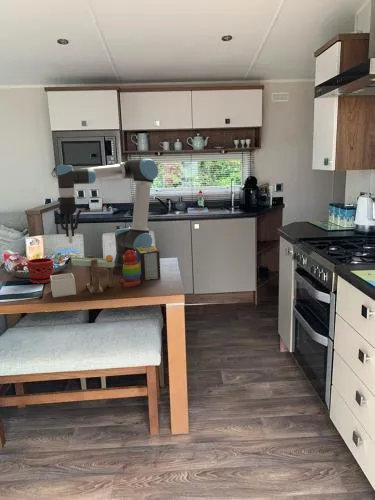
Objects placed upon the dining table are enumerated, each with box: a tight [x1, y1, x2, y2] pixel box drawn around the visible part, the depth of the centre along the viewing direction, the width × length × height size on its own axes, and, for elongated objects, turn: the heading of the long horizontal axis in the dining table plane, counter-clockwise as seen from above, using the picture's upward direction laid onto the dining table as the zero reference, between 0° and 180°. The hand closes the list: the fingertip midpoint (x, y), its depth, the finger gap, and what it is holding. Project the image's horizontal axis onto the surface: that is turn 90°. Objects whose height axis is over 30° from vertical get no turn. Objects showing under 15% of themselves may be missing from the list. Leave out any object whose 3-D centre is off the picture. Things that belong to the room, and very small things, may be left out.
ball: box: [105, 254, 114, 262], centre depth 192 cm, size 4×4×4 cm
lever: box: [67, 253, 115, 269], centre depth 193 cm, size 21×18×3 cm
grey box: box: [50, 272, 77, 298], centre depth 185 cm, size 11×11×8 cm
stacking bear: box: [119, 250, 142, 288], centre depth 197 cm, size 11×10×18 cm
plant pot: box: [26, 257, 54, 285], centre depth 205 cm, size 13×13×12 cm
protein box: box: [135, 245, 162, 281], centre depth 209 cm, size 10×15×16 cm
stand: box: [85, 254, 115, 294], centre depth 191 cm, size 12×15×16 cm
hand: (70, 242), depth 194 cm, fingers closed
